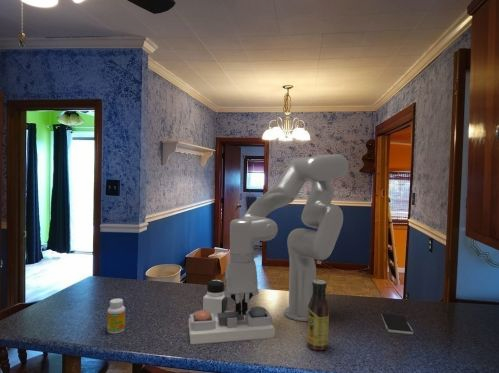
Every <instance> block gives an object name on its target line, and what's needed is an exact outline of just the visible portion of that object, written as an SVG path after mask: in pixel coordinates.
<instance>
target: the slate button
mask: <svg viewBox="0 0 499 373" xmlns="http://www.w3.org/2000/svg"><path fill="white" fill-rule="evenodd" d="M249 310H250V316H251V318H255V317H265V312H266V308H265V307H263V306H259V305H257V306H252V307H250V309H249Z"/></svg>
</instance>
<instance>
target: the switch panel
mask: <svg viewBox="0 0 499 373" xmlns="http://www.w3.org/2000/svg"><path fill="white" fill-rule="evenodd" d="M265 309H266V308H265ZM231 311H235V310H227V311H225V312H231ZM272 318H273V317H272V315H271V314H270V312H269V311H268V309H266V312H265V317H255V318H251V316H250V309H248V311H246V315H244V320H239V321H237V317H234V318H227V322H225V323H219V321H218V317H214V313H211V319H210V321H197V322H195V312H194V313H189V318H188V334H189V340H190V341H189V342H190V345H202V344H213V343H215V344H216V343H224V342H228V343H229V342H236V341H237V342H238V341H239V342H240V341H248V340H249V341H251V340H261V339H263V340H264V339H272V338H273V339H274V338H275V330H276V329H275V326H274V325H273V323H272V320H273V319H272Z"/></svg>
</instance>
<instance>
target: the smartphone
mask: <svg viewBox="0 0 499 373" xmlns="http://www.w3.org/2000/svg"><path fill="white" fill-rule="evenodd" d="M380 314H381V318H382V321H383V323H384V326H385V329H386V330H387V332H389V333H394V334H395V333H398V334H405V335H407V334H408V335H413V334H414V330H413V329H412V327H411V325H410V324H409V322H408V321H407V318H406V317H405V315H403V314H395V313H386V312H381V313H380Z"/></svg>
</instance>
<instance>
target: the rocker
mask: <svg viewBox="0 0 499 373" xmlns="http://www.w3.org/2000/svg"><path fill="white" fill-rule="evenodd" d="M230 311H231V312H224V313H217V315H218V321H219V323H225V322H227V318H234V317H237V321H239V320H244V314H243V312H242V309H241V315H239V314H238V312H236V310H234V311H233V310H230Z"/></svg>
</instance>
